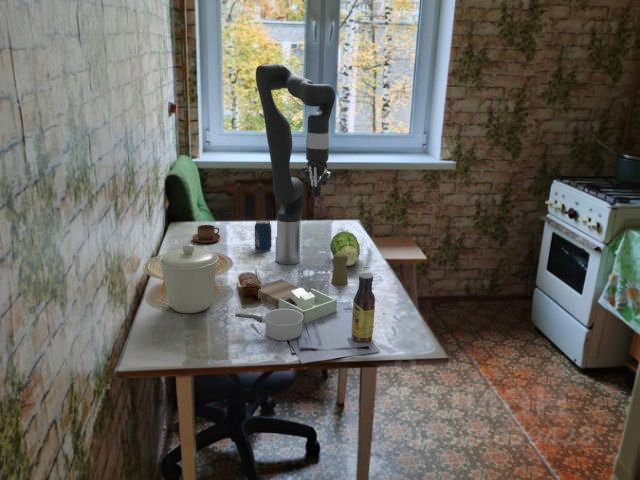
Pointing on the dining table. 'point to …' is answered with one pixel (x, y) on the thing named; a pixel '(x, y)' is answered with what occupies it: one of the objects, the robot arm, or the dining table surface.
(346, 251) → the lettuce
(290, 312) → the saucepan
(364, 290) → the sauce bottle
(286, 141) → the robot arm
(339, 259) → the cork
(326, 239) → the dining table surface
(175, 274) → the canister
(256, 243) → the soda can
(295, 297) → the tile
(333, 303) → the tray
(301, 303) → the tile
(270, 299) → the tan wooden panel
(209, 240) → the cup and saucer
